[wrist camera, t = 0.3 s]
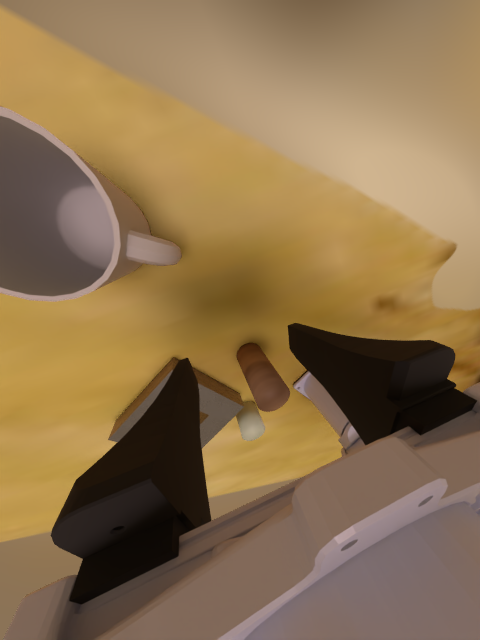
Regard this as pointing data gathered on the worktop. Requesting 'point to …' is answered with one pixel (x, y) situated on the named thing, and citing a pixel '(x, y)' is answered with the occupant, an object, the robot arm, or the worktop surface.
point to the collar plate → (214, 405)
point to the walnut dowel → (262, 378)
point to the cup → (64, 220)
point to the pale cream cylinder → (250, 421)
